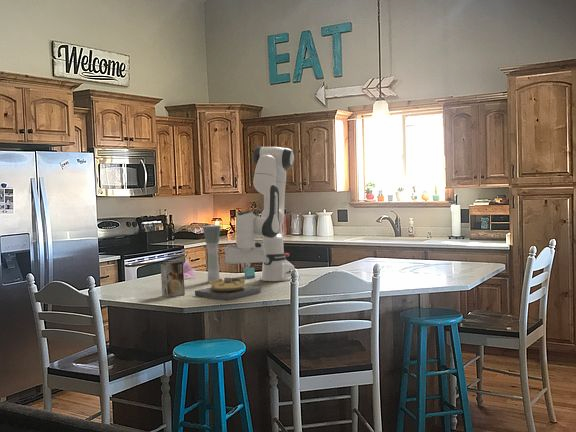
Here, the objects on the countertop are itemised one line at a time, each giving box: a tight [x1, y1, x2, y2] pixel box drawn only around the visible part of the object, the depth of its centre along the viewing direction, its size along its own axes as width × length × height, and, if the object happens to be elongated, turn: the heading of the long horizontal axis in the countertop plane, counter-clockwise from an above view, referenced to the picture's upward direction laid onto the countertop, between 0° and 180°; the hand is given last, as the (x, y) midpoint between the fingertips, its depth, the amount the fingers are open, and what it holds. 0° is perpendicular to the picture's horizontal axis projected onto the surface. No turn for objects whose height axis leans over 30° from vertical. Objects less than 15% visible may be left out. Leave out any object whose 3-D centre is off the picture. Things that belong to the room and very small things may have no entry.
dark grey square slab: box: [194, 285, 262, 301], centre depth 310 cm, size 22×22×3 cm
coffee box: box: [160, 260, 186, 298], centre depth 312 cm, size 9×6×16 cm
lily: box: [183, 259, 196, 281], centre depth 367 cm, size 12×12×10 cm
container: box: [202, 224, 222, 283], centre depth 350 cm, size 10×10×30 cm
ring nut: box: [210, 267, 256, 291], centre depth 312 cm, size 24×16×8 cm
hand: (246, 272), depth 320 cm, fingers closed
